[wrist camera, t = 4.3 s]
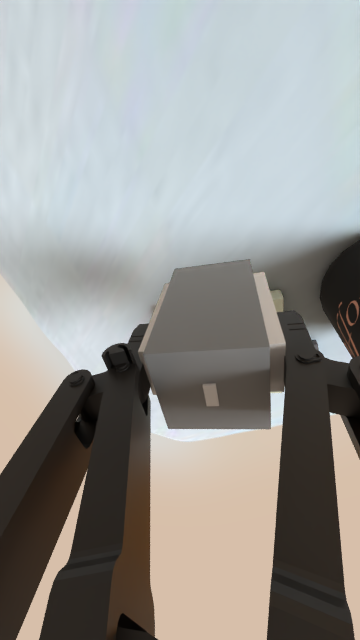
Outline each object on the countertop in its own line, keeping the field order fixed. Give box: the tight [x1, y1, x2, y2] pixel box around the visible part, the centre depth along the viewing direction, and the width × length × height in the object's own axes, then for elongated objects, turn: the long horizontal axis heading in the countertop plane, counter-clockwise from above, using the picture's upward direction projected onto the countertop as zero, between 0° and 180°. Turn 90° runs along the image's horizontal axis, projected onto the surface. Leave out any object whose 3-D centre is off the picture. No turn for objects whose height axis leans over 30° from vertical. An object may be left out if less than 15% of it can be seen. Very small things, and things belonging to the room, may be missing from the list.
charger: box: [143, 259, 271, 429], centre depth 14 cm, size 4×4×8 cm
